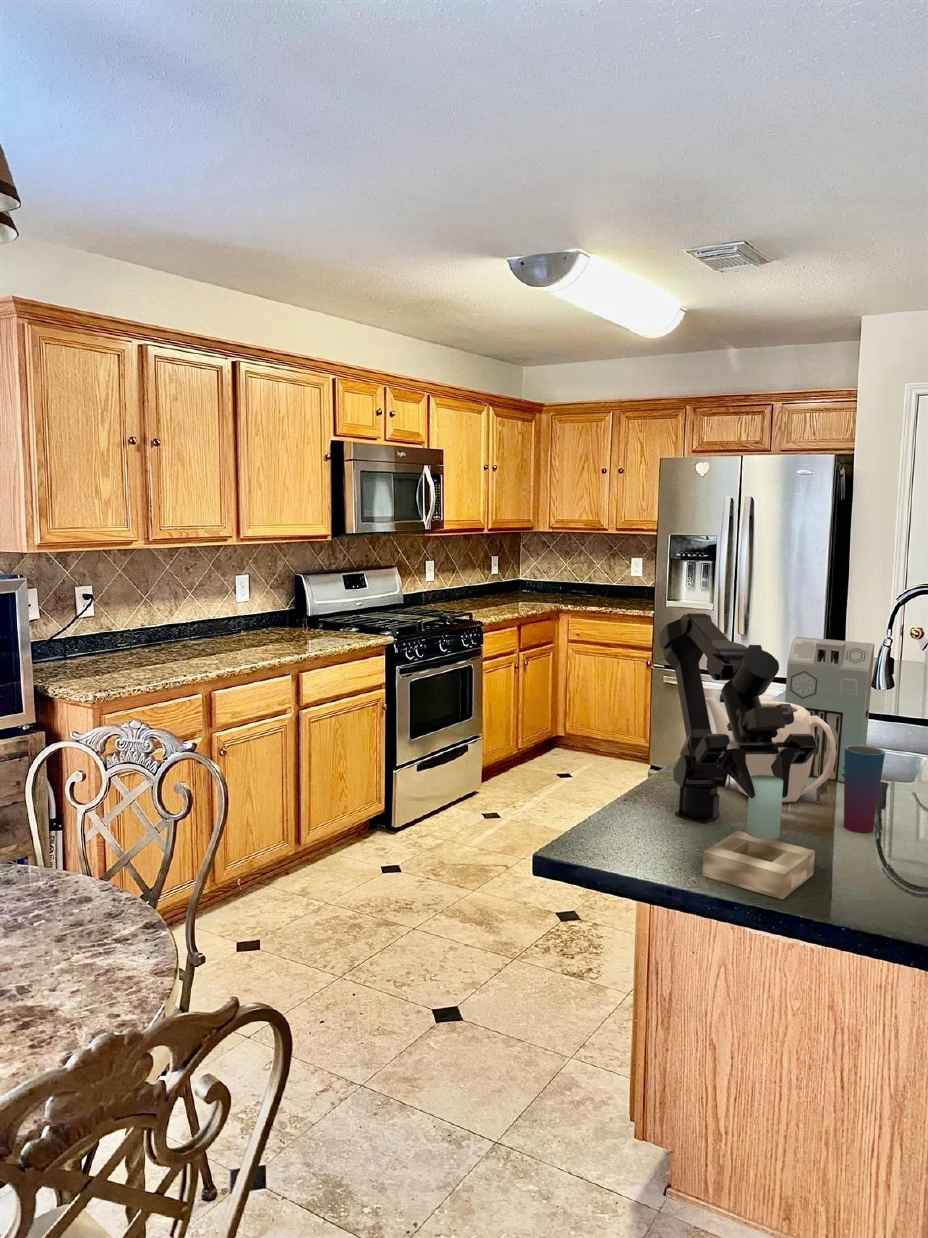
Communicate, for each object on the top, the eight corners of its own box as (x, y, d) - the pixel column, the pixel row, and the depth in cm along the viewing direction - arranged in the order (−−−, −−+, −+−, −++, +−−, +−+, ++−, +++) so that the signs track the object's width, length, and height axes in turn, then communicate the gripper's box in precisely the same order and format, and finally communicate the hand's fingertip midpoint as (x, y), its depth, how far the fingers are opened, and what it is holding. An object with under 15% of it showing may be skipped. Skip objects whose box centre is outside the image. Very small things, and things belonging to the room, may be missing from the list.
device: (779, 773, 204) (789, 640, 200) (786, 765, 210) (795, 636, 207) (859, 786, 196) (870, 648, 192) (863, 777, 202) (874, 643, 199)
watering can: (709, 774, 202) (715, 690, 199) (838, 796, 188) (845, 707, 186) (688, 792, 188) (693, 702, 186) (824, 817, 175) (831, 721, 172)
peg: (739, 830, 147) (743, 776, 146) (764, 827, 149) (767, 773, 148) (761, 841, 142) (765, 785, 141) (786, 837, 144) (790, 782, 143)
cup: (882, 836, 165) (889, 756, 164) (842, 832, 167) (849, 753, 165) (873, 823, 172) (880, 746, 170) (835, 820, 173) (841, 743, 172)
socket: (702, 875, 146) (703, 851, 145) (736, 853, 155) (737, 830, 155) (782, 899, 137) (784, 874, 137) (813, 874, 147) (814, 850, 147)
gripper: (705, 685, 145) (728, 773, 136) (817, 685, 147) (847, 772, 138) (685, 721, 154) (706, 806, 145) (790, 721, 156) (817, 805, 147)
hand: (769, 796), depth 143 cm, fingers closed on peg, 5 cm apart
